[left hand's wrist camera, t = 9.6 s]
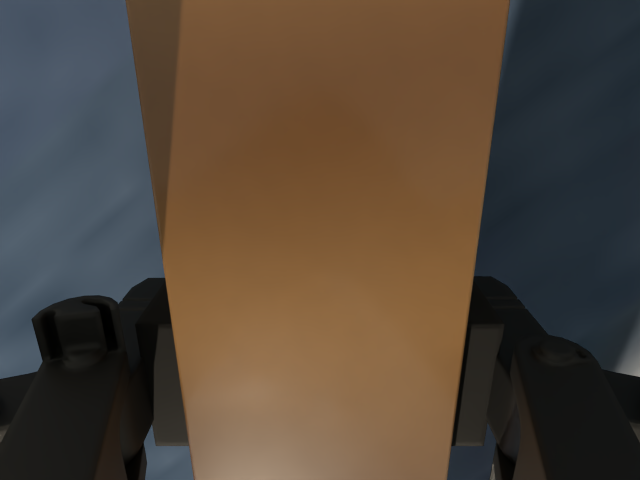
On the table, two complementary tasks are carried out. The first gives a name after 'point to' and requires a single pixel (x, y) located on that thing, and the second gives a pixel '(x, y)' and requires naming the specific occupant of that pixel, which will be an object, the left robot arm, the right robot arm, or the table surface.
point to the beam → (319, 223)
